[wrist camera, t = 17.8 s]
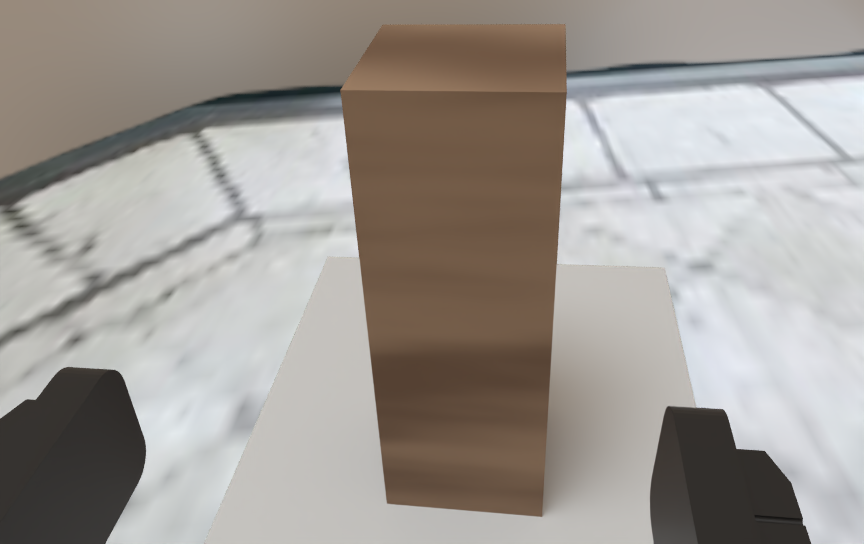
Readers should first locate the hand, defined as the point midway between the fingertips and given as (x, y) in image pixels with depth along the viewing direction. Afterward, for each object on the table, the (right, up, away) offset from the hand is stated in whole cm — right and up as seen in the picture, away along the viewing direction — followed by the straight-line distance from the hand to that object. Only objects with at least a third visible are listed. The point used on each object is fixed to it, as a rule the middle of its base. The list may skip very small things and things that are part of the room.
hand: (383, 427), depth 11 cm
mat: (+2, -3, +17) cm, 18 cm away
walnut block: (+2, -4, +15) cm, 16 cm away
